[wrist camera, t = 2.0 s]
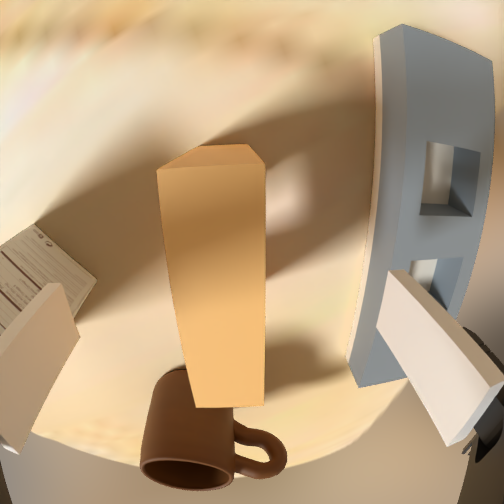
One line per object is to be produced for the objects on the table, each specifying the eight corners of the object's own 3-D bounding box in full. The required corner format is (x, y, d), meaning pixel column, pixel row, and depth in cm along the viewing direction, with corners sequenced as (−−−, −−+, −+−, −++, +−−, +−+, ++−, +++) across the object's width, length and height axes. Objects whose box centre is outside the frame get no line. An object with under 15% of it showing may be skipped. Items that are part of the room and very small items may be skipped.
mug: (285, 371, 25) (303, 460, 17) (270, 417, 28) (280, 493, 20) (151, 360, 24) (129, 449, 15) (158, 409, 27) (145, 485, 18)
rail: (372, 38, 15) (401, 23, 11) (458, 64, 15) (491, 61, 11) (345, 356, 25) (358, 387, 21) (416, 343, 26) (434, 369, 22)
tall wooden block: (198, 146, 17) (156, 169, 8) (247, 143, 17) (265, 164, 8) (208, 288, 21) (196, 407, 12) (250, 287, 22) (263, 405, 12)
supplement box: (68, 330, 22) (9, 439, 11) (10, 279, 20) (-70, 367, 8) (101, 279, 21) (22, 406, 9) (34, 219, 18) (-79, 305, 7)
